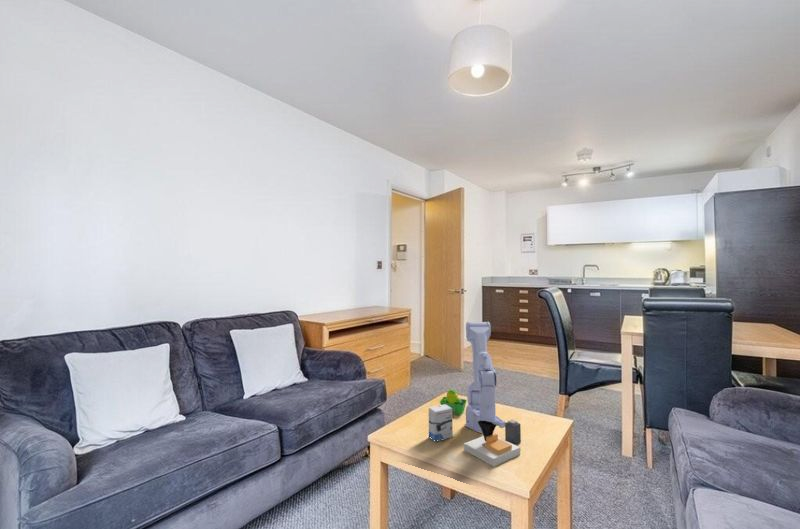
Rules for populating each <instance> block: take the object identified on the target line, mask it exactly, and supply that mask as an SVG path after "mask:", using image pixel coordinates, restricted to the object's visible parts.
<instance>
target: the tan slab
mask: <svg viewBox="0 0 800 529" xmlns="http://www.w3.org/2000/svg"><path fill="white" fill-rule="evenodd" d="M498 437H499V435H498V433H493V435H490V436H487V437H486V443H485V448H487V449H489V450H491V451H493V452H495V453H497V454H499V455H500V454H502V453H505V452H507V451H509V450H512V445H510V444H508V443H506V442H504V441H502V440H500V439H498Z"/></svg>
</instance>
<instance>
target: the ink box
mask: <svg viewBox="0 0 800 529" xmlns="http://www.w3.org/2000/svg"><path fill="white" fill-rule="evenodd" d="M453 426H454V425H453V413H452V408H451V407H449V406H448V405H446V404H444V405H441V404H440V405H436V406H435V405H433V406H430V407H428V438H429V437H431V438H432V439H433V440H435V441H437V440H441V441H443V440H442V439H445V440H447V439H446V438H449V439H451V437H452V438H453V436H454V434H453V433H454V431H453ZM432 439H431V440H432ZM433 440H432V441H433ZM435 441H434V442H435ZM437 442H438V441H437Z"/></svg>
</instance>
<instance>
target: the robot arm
mask: <svg viewBox="0 0 800 529" xmlns="http://www.w3.org/2000/svg"><path fill="white" fill-rule="evenodd" d="M491 326H492V325H491V323H490V322H489V321H467V322H465V334H466V338H465V339H466V341H467V342H469V343H470V345H471V347H472V370H473V371H472V372H473V382H471V383H470V384H469V385H468V386H467V394H466V395H467V399H466V400H467V406H465V424H464V426H465V427H466V428H469V429H471V430H473V431H475V432H477V433H480V434H482V436H484V439H485V441H486V437H487V436H490V435H493V434H494V432H495V430H496V427H497V426H498V427H499V429H503V428H505V423H506V421H505V420H503V419H501V418H500V417H498V416H497V415H496V412H497V411H496V387H497V383H498V382H497V381H498V377H497V372H496V370H495V367H494V366H493V361H492V355H490V353H489V352H488V343H487V342H488V341H489V339H490V336H491V332H492V329H491V328H492V327H491Z"/></svg>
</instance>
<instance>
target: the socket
mask: <svg viewBox="0 0 800 529" xmlns="http://www.w3.org/2000/svg"><path fill="white" fill-rule="evenodd" d="M498 439H500V440H502V441H504V442H506V443H508V444H510V445H512V450H509V451H507V452H505V453H502V454H500V455H499V454H497V453H495V452H493V451H491V450H489V449H487V448H485V443H486V441H485V439H484V436H483V435H482V436H480V437H478V438H475V439H472V440H469V441H466V442H464V443H463V451H464V450H465V452H466V451H467V452H466V453H468V452H469V453H468V454H470V455H472V456H473V455H474V456H473V457H475V456H476V457H475V458H477V457H478V458H477V459H479V460H480V461H483V462H485V463H487V464H488V465H490V466H492V467H497V466H498V465H500V464H503V463H505V462H507V461H509V460H511V459H514V458H515V457H518V456H520V455H521V447H520V446H518V445H517V444H515V445H514V444H512V443H510V442H508V441H505V439H503V438H501V437H499V436H498Z"/></svg>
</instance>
